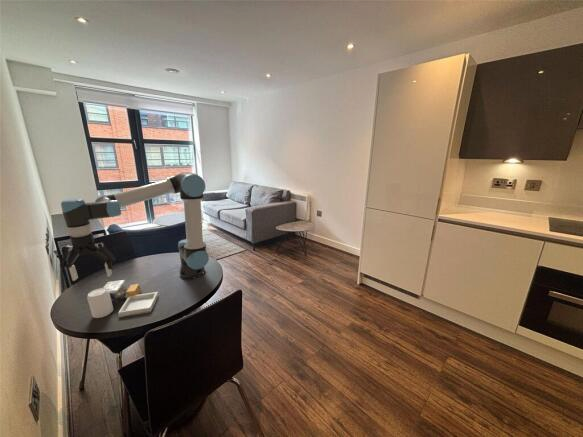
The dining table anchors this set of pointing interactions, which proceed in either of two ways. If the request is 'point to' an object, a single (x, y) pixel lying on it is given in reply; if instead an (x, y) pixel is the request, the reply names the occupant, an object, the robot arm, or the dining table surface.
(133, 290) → the block
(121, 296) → the white hollow block
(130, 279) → the dining table surface
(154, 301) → the tray
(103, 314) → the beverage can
